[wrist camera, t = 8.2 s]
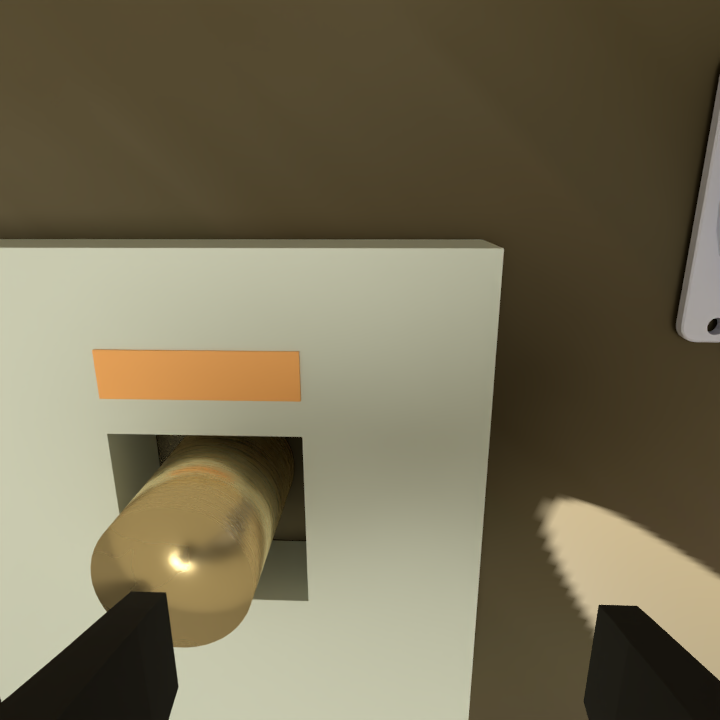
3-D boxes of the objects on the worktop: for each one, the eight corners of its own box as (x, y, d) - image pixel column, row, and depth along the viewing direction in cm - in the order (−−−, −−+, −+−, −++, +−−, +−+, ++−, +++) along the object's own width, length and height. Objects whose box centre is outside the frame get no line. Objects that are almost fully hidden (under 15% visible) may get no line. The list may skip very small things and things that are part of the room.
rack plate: (482, 239, 16) (504, 249, 13) (455, 659, 21) (468, 736, 18) (-31, 238, 17) (-121, 247, 14) (55, 645, 21) (2, 717, 18)
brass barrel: (295, 415, 18) (252, 516, 12) (293, 517, 19) (253, 653, 13) (178, 407, 18) (82, 503, 12) (184, 509, 19) (98, 641, 14)
